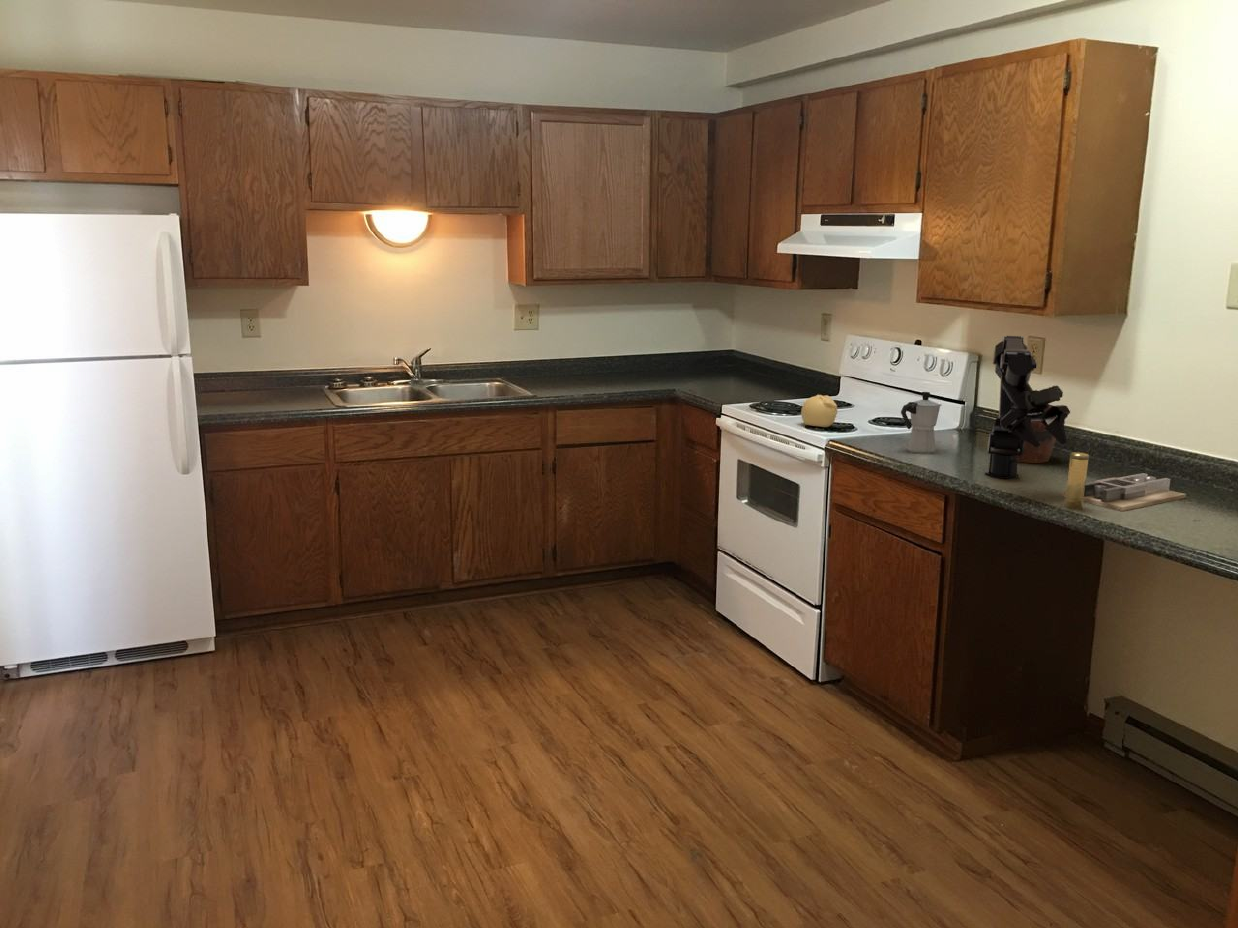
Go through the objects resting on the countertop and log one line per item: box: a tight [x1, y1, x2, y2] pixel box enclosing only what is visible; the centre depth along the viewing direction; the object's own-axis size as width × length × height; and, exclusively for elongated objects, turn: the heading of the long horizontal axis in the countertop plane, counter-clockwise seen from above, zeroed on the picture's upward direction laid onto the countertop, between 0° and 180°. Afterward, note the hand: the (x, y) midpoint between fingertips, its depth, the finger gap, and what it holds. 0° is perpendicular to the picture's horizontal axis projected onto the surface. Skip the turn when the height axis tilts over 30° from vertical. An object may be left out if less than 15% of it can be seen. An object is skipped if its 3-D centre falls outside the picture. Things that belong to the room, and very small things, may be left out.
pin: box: [1063, 452, 1090, 510], centre depth 240 cm, size 4×4×13 cm
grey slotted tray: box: [1084, 472, 1171, 503], centre depth 252 cm, size 8×27×3 cm, turn 121°
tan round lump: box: [800, 394, 838, 428], centre depth 340 cm, size 11×12×11 cm
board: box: [1061, 489, 1187, 512], centre depth 252 cm, size 16×27×1 cm, turn 122°
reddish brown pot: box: [997, 403, 1066, 464], centre depth 294 cm, size 18×20×18 cm
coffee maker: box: [900, 391, 942, 455], centre depth 301 cm, size 15×9×18 cm, turn 113°
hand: (1052, 445), depth 246 cm, fingers open, 9 cm apart
